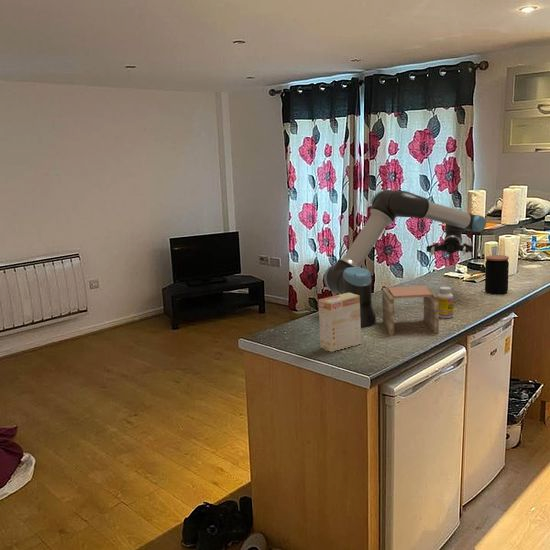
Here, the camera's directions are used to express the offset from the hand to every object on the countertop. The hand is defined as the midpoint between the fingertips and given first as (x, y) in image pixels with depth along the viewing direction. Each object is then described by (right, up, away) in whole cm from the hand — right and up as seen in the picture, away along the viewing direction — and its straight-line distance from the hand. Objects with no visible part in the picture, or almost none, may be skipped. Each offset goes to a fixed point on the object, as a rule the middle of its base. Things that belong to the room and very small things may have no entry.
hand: (447, 252), depth 245 cm
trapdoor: (-21, -17, -18) cm, 33 cm away
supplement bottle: (-2, -28, -3) cm, 29 cm away
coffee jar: (+34, -19, +31) cm, 50 cm away
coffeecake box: (-51, -38, -33) cm, 72 cm away
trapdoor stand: (-21, -32, -15) cm, 41 cm away
